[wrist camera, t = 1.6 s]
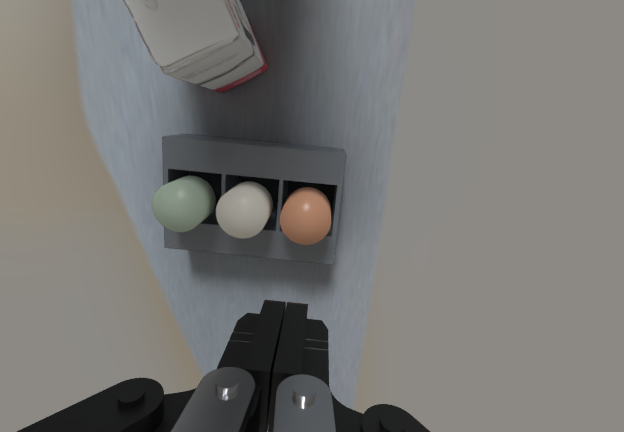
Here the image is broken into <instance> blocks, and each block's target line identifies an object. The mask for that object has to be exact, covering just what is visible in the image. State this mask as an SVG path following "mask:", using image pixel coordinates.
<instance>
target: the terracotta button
mask: <svg viewBox="0 0 624 432" xmlns="http://www.w3.org/2000/svg"><path fill="white" fill-rule="evenodd" d="M280 225H281V228H282V231H283V232H284V234H285V235H286V236H287V237H288V238H289V239H290V240H291V241H293V242H295V243H298V244H302V245H310V244H314V243H317V242H319V241H320V240H322V239H323V238H324V237H325V236H326V235H327V233H328V232H329V229H330V226H331V207H330V203H329V200H328V198H327V197H326V196H325V194H324V193H322V192H321V191H320V190H318V189H315V188H312V187H303V188H299V189H297V190H295V191H294V192H292V193H291V194H290V195H289V197H288V198H287V200H286V202H285V204H284V207H283V209H282V211H281V214H280Z"/></svg>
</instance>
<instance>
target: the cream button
mask: <svg viewBox="0 0 624 432" xmlns="http://www.w3.org/2000/svg"><path fill="white" fill-rule="evenodd" d="M272 210H273V200H272V197H271V195H270V193H269V191H268V190H267V189H266V188H265V187H264V186H262V185H261V184H259V183H256V182H251V181H247V182H242V183H239V184H237V185H236V186H235V187H233V188H232V189H231V190H229V191H228V192H227V193H225V194H224V195H223V196H222V197H221V198H220V200H219V201H218V204H217V207H216V218H217V221H218V223H219V225H220V227H221V228H222V229H223V230H224V231H225V232H226V233H227V234H229V235H231V236H233V237H236V238H241V239H245V238H250V237H253V236H255V235H257V234H258V233H259V232H260V231H261V230H262V229H263V227H264V226H265V224H266V222H267V220H268V219H269V217H270V215H271V213H272Z"/></svg>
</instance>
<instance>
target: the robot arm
mask: <svg viewBox="0 0 624 432" xmlns="http://www.w3.org/2000/svg"><path fill="white" fill-rule="evenodd" d="M285 309H286V311H285ZM307 309H308V304H301V303H291V302H287V306H286V302H281V301H271V300H265V301H264V303H263V306H262V309H261V312H260V314H254V313H247V314H245V315H244V316H243V317H242V318H240V319H239V320H238V321H237V323H236V326H235V328H234V330H233V333H232V335H231V337H230V341H229V342H228V344H227V346H226V349H225V351H224V353H223V355H222V358H221V360H220V362H219V365H218V367H217V369H216V370H213V371H212V372H210V373H208V374H207V375H206V376H205V377H203V379H202V380H201V382H200V383H199V385H198V387H197V388H195V389H193V390H189V391H185V392H179V393H173V394H165V395H164V391H163V388H162V386H161V384H160V383H158V382H157V381H155V380H152V379H148V378H135V379H129V380H126V381H123V382H121V383H118V384H116V385H114V386H112V387H110V388H108V389H106V390H103V391H102V392H99V393H97V394H95V395H93V396H91V397H89V398H87V399H85V400H83V401H80V402H78V403H76V404H74V405H72V406H70V407H68V408H66V409H63V410H61V411H59V412H57V413H55V414H53V415H51V416H49V417H47V418H45V419H42V420H40V421H38V422H36V423H34V424H32V425H30V426H28V427H26V428H23V429H22V430H19V431H17V432H267V430H268V432H430V431H429V430H428V429H426V428H425V427H424V426H423V425H422V424H421V423H420V422H418V421H417V420H416V419H415V418H414V417H413V416H411V415H410V414H409V413H408V412H406V411H404V410H403V409H401V408H399V407H396V406H393V405H388V404H379V405H374V406H372V407H370V408H368V409H367V411H365V413H364V414H362V413H359V412H357V411H354V410H352V409H349V408H347V407H346V406H344V405H342V404H341V403H340V402H338V401H337V400H336V399H335V397H334V396H333V395H332V393H331V391H330V388H329V358H328V329H327V327H326V326H325V324H324V323H323V321H322V320H313V319H307ZM268 424H269V428H268Z"/></svg>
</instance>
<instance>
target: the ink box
mask: <svg viewBox="0 0 624 432" xmlns="http://www.w3.org/2000/svg"><path fill="white" fill-rule="evenodd" d="M123 1H124V3H125V4H126V6H127V8H128V10H129V12H130V14H131V16H132V18H133V20H134V23H135V25H136V27H137V30H138V32H139V34H140V36H141V38H142V40H143V42H144V43H145V45H146V47H147V49H148V52H149V54H150V56H151V58H152V59H153V61H154V62H155V63H156V64H157V65H159V66H160V68H161V71H162V72H163V73H164V74H166V75H168V76H172V77H174V78H177V79H181V80H183V81H187V82H190V83H193V84H196V85H199V86H202V87H205V88H208V89H212V90H214V91H217V92H224V91H226V90H228V89H231V88H233V87H235V86H238V85H240V84H242V83H244V82H246V81H248V80H250V79H252V78H254V77H256V76H258V75H259V74H261V73H263V72H264V71H266V70H267V69H268V67H267V64H266V62H265V59H264V57H263V54H262V52H261V49H260V47H259V45H258V42H257V40H256V38H255V35H254V33H253V31H252V28H251V26H250V24H249V21H248V19H247V16H246V14H245V11H244V9H243V7H242V4H241V2H240V0H123Z"/></svg>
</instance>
